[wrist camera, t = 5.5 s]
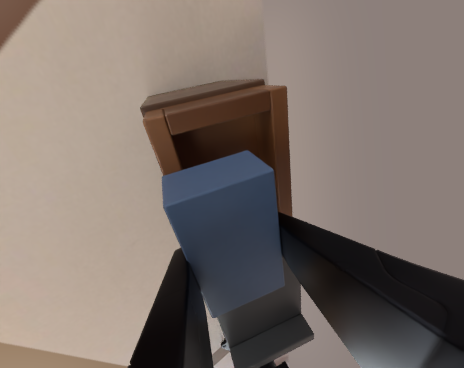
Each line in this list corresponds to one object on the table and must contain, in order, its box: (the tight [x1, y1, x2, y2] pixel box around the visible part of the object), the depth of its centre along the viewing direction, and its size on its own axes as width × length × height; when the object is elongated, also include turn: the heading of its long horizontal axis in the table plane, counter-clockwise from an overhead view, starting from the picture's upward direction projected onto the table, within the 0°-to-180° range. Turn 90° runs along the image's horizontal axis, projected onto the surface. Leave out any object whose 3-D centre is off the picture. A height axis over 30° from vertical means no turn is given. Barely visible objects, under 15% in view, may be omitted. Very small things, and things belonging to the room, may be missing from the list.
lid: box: [217, 255, 314, 368], centre depth 13 cm, size 8×6×2 cm
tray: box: [143, 85, 292, 217], centre depth 11 cm, size 8×6×2 cm
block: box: [162, 150, 285, 318], centre depth 8 cm, size 6×3×2 cm, turn 11°
